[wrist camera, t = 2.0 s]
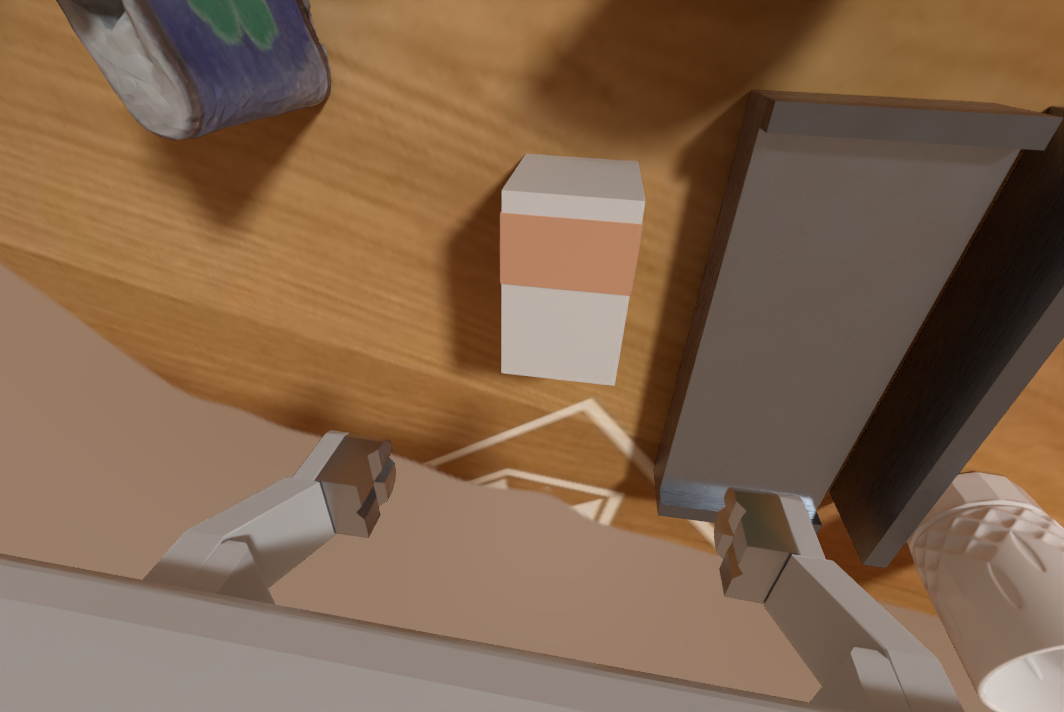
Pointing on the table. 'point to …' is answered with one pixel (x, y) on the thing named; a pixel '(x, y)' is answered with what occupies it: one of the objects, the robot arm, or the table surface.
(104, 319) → the table surface
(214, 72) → the flask
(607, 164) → the block
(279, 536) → the robot arm
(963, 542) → the white cup
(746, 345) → the dark grey tray
